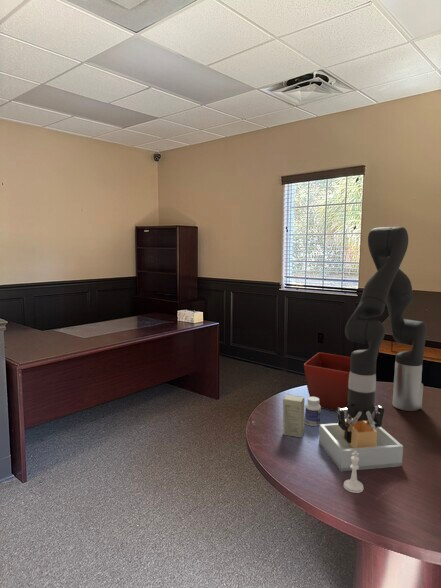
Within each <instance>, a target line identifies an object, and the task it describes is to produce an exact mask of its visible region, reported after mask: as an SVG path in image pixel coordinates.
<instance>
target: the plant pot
mask: <svg viewBox="0 0 441 588" xmlns="http://www.w3.org/2000/svg"><path fill="white" fill-rule="evenodd" d="M350 360H351V356H345V355H340V354H339V355H338V354H334V353H333V354H331V353H328V352H327V353H325V352H317V353H316V354H315V355H313V356H312V357H311V358H309V359H308V360H307V361H306V362H304V363H303V369H304V370H303V371H304V377H305V383H306V387H307V392H308V395H309V396H308V397H317V398H319V405H320V406H321V409H324V410H329V411H334V412H337V408H338V407H339V408H341V409H342V408H346V406H347V404H348V381H349V374H350Z"/></svg>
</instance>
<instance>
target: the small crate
mask: <svg viewBox="0 0 441 588" xmlns="http://www.w3.org/2000/svg"><path fill="white" fill-rule="evenodd" d="M352 420H353V418H352ZM345 422H346V418H345ZM344 432H345V430H343V436H342V438H343V439H344V440H345V438H344ZM351 432H352V435H351V443H348V442H347V441H346V440H345V441H346V442H347V443H348V444H349V445H350V446H351V448H364V447H376V445H377V431H376V430H375V429H374V428H373V427H372V426H370V425H369V424H368V423H366V421H362V420H361V421H357V422H356V424H355V425H354V426H353V428H352V430H351Z"/></svg>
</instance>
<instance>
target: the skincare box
mask: <svg viewBox="0 0 441 588" xmlns="http://www.w3.org/2000/svg"><path fill="white" fill-rule="evenodd" d="M304 433H305V396H298V395H293V394H285V396H284V397H283V398H282V435H285V436H290V437H295V438H296V437H297V438H302V437H303V435H304Z"/></svg>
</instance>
